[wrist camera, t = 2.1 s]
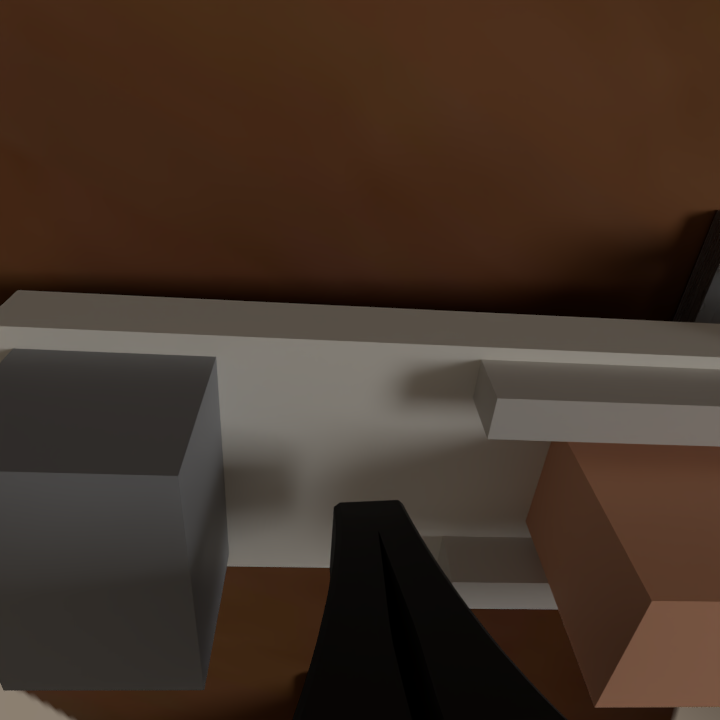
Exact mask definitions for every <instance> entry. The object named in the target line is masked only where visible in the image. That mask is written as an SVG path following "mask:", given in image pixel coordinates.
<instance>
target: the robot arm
mask: <svg viewBox="0 0 720 720" xmlns="http://www.w3.org/2000/svg"><path fill="white" fill-rule="evenodd" d="M293 720H567V719H566V718H565V717H564V716H563V715H562V714H561V713H560V712H559V711H558V710H557V709H556V708H555V707H554V706H553V705H552V704H551V703H550V702H549V701H548V700H547V699H546V698H545V697H544V696H543V695H542V694H541V692H540V691H539V690H538V689H537V688H536V687H535V686H534V685H533V684H532V683H531V682H530V681H529V680H528V679H527V677H526V676H525V675H524V674H523V673H522V672H521V671H520V670H519V669H518V667H517V666H516V665H515V664H514V663H513V662H512V661H511V659H510V658H509V657H508V656H507V655H506V654H505V653H504V651H503V650H502V649H501V648H500V647H499V645H498V644H497V643H496V642H495V640H494V639H493V638H492V637H491V636H490V634H489V633H488V632H487V631H486V629H485V628H484V627H483V625H482V624H481V623H480V622H479V620H478V619H477V618H476V616H475V615H474V614H473V612H472V611H471V610H470V609H469V607H468V606H467V604H466V603H465V602H464V600H463V599H462V598H461V596H460V595H459V593H458V592H457V591H456V589H455V588H454V586H453V585H452V583H451V582H450V580H449V579H448V577H447V576H446V575H445V573H444V572H443V570H442V569H441V567H440V566H439V564H438V563H437V561H436V560H435V558H434V557H433V555H432V553H431V552H430V550H429V549H428V547H427V545H426V544H425V542H424V540H423V539H422V537H421V535H420V534H419V532H418V530H417V529H416V527H415V525H414V523H413V522H412V520H411V518H410V516H409V514H408V513H407V511H406V509H405V507H404V505H403V503H401V502H400V501H399V500H384V501H361V502H340V503H338V504H337V505H336V506H334V511H333V526H332V541H331V555H330V585H329V591H328V596H327V601H326V605H325V610H324V614H323V618H322V622H321V627H320V631H319V635H318V639H317V643H316V646H315V650H314V654H313V657H312V661H311V664H310V668H309V671H308V674H307V677H306V681H305V684H304V687H303V690H302V693H301V696H300V699H299V702H298V705H297V708H296V711H295V714H294V717H293Z"/></svg>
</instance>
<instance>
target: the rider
mask: <svg viewBox="0 0 720 720" xmlns="http://www.w3.org/2000/svg"><path fill="white" fill-rule="evenodd" d="M526 524H527V527H528V529H529V532H530V535H531V537H532V540H533V543H534V545H535V548H536V551H537V553H538V556H539V559H540V562H541V564H542V567H543V570H544V572H545V575H546V578H547V580H548V583H549V586H550V588H551V591H552V594H553V597H554V599H555V602H556V605H557V607H558V610H559V613H560V615H561V618H562V621H563V623H564V626H565V629H566V632H567V634H568V637H569V640H570V642H571V645H572V648H573V650H574V653H575V656H576V658H577V661H578V664H579V667H580V669H581V672H582V675H583V677H584V680H585V683H586V685H587V688H588V691H589V693H590V696H591V699H592V702H593V704H594V707H720V446H688V445H656V444H624V443H592V442H560V441H551V444H550V447H549V450H548V453H547V456H546V459H545V462H544V465H543V469H542V472H541V475H540V478H539V481H538V484H537V487H536V490H535V494H534V497H533V500H532V503H531V506H530V509H529V512H528V515H527V519H526Z"/></svg>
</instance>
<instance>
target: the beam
mask: <svg viewBox="0 0 720 720" xmlns="http://www.w3.org/2000/svg"><path fill="white" fill-rule="evenodd" d="M551 441H560V442H592V443H624V444H656V445H688V446H720V324H713V323H692V322H671V321H650V320H629V319H608V318H588V317H567V316H546V315H525V314H504V313H484V312H463V311H442V310H421V309H400V308H380V307H359V306H338V305H317V304H296V303H276V302H255V301H234V300H213V299H192V298H172V297H151V296H130V295H109V294H88V293H68V292H47V291H26V290H17V291H16V292H15V293H14V294H13V295H12V296H11V297H10V298H9V299H8V300H7V301H5V302H4V303H3V304H2V305H1V306H0V683H1V685H2V688H3V690H204V688H205V683H206V677H207V672H208V666H209V661H210V655H211V650H212V644H213V639H214V633H215V628H216V622H217V617H218V612H219V606H220V601H221V595H222V590H223V584H224V579H225V573H226V568H227V566H251V567H323V568H330V555H331V541H332V526H333V511H334V506H336V505H337V504H338V503H340V502H361V501H384V500H399V501H400V502H401V503H403V505H404V507H405V509H406V511H407V513H408V514H409V516H410V518H411V520H412V522H413V523H414V525H415V527H416V529H417V530H418V532H419V534H420V535H421V537H422V539H423V540H424V542H425V544H426V545H427V547H428V549H429V550H430V552H431V553H432V555H433V557H434V558H435V560H436V561H437V563H438V564H439V566H440V567H441V569H442V570H443V572H444V573H445V575H446V576H447V577H448V579H449V580H450V582H451V583H452V585H453V586H454V588H455V589H456V591H457V592H458V593H459V595H460V596H461V598H462V599H463V600H464V602H465V603H466V604H467V606H468V607H469V608H474V609H558V607H557V605H556V602H555V599H554V597H553V594H552V591H551V588H550V586H549V583H548V580H547V578H546V575H545V572H544V570H543V567H542V564H541V562H540V559H539V556H538V553H537V551H536V548H535V545H534V543H533V540H532V537H531V535H530V532H529V529H528V527H527V524H526V519H527V515H528V512H529V509H530V506H531V503H532V500H533V497H534V494H535V490H536V487H537V484H538V481H539V478H540V475H541V472H542V469H543V465H544V462H545V459H546V456H547V453H548V450H549V447H550V444H551Z"/></svg>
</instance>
